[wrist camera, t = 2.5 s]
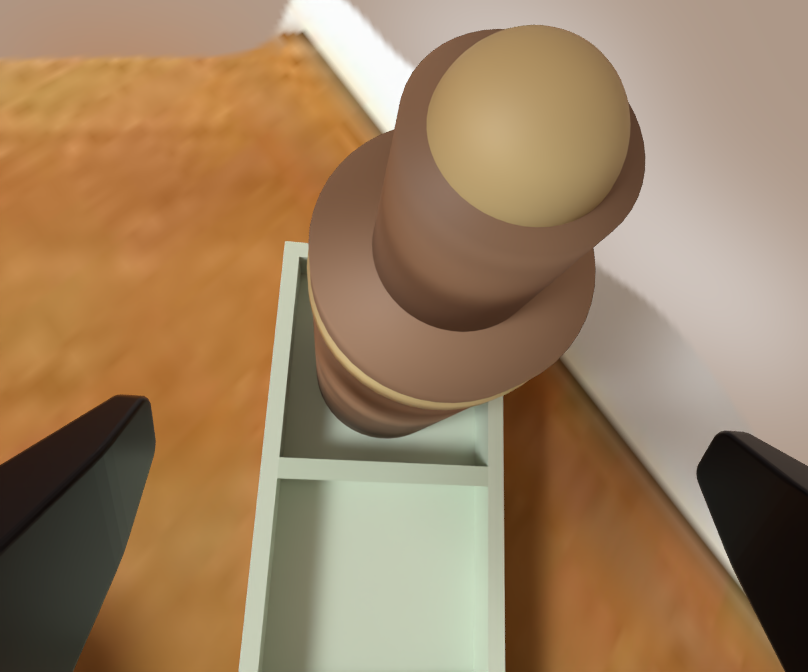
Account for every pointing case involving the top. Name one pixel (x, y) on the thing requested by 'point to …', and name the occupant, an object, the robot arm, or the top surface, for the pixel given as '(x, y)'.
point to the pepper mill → (469, 228)
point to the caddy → (370, 529)
